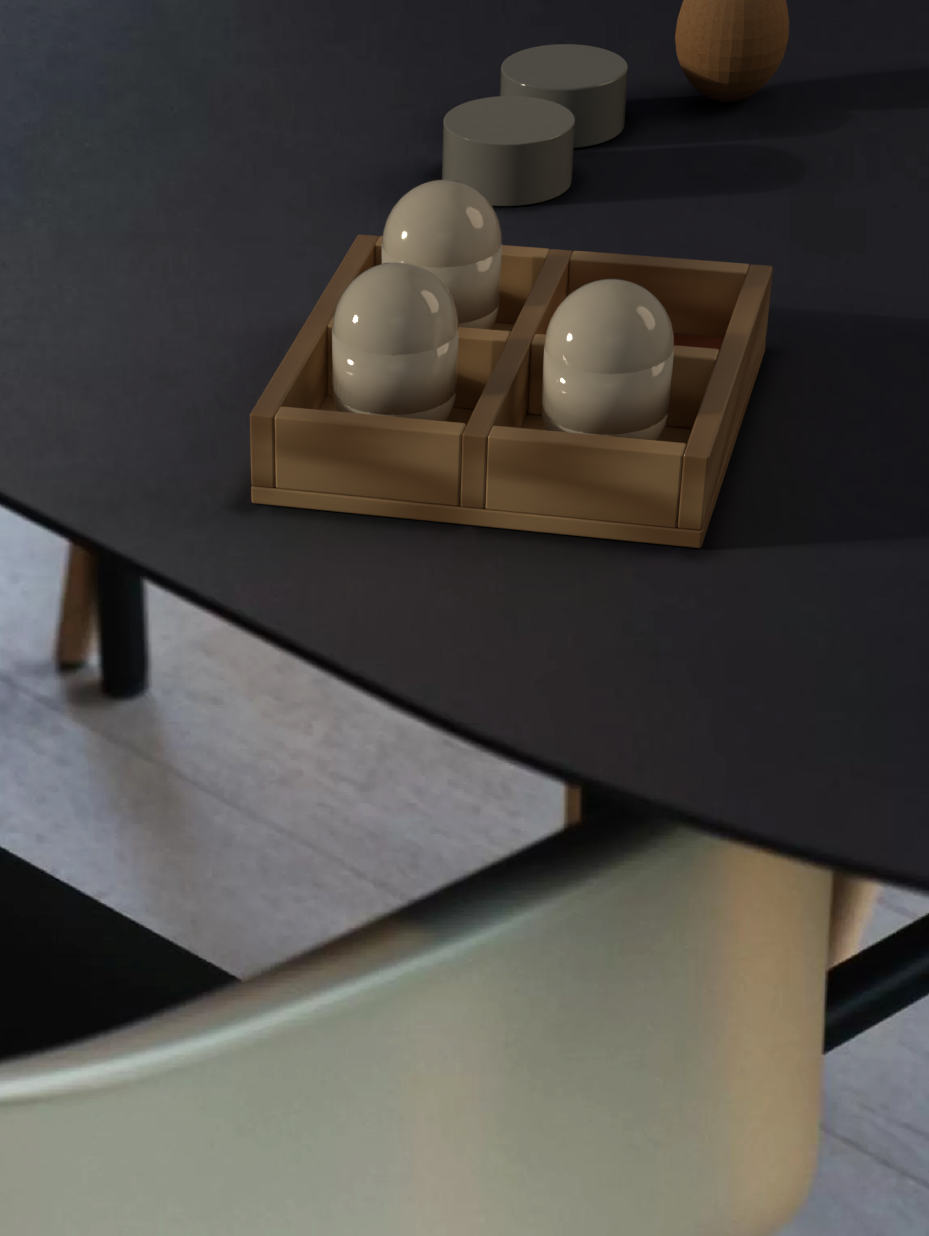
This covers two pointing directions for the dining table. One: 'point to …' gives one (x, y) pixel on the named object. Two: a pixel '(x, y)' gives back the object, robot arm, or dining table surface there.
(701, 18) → the egg
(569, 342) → the cream egg
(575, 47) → the grey short cylinder
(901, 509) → the dining table surface
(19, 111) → the dining table surface
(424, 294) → the cream egg
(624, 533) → the egg tray
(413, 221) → the cream egg
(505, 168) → the grey short cylinder
